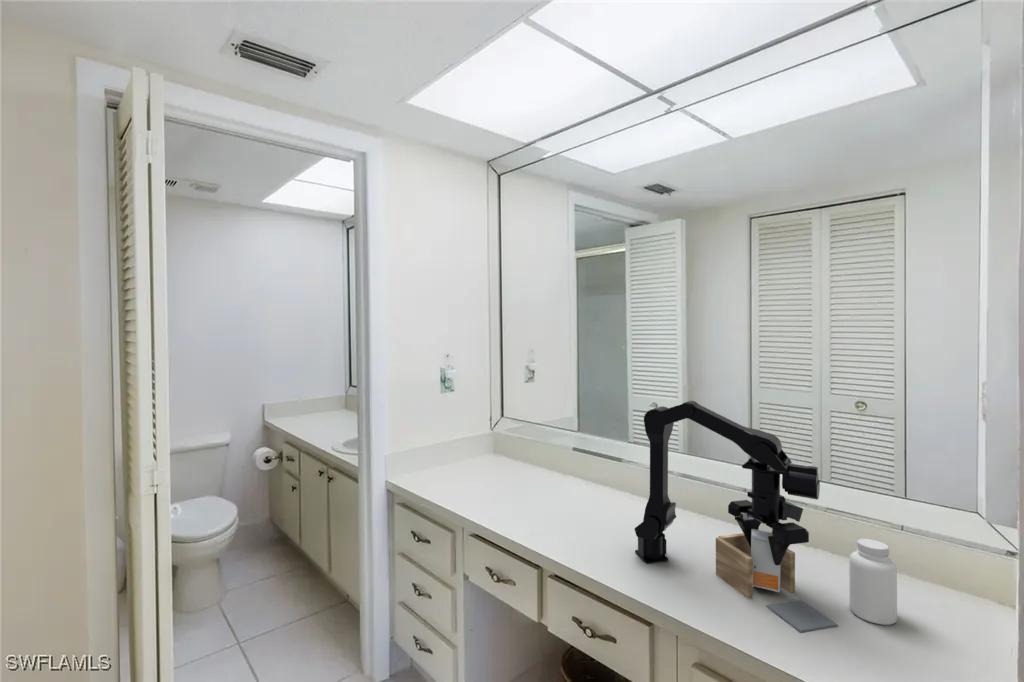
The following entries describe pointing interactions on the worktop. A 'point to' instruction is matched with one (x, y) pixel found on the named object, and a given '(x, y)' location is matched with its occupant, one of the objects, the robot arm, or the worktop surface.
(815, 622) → the slate pad
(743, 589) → the oak bay
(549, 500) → the worktop surface
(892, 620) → the pill bottle
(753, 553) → the skincare box
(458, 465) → the worktop surface
